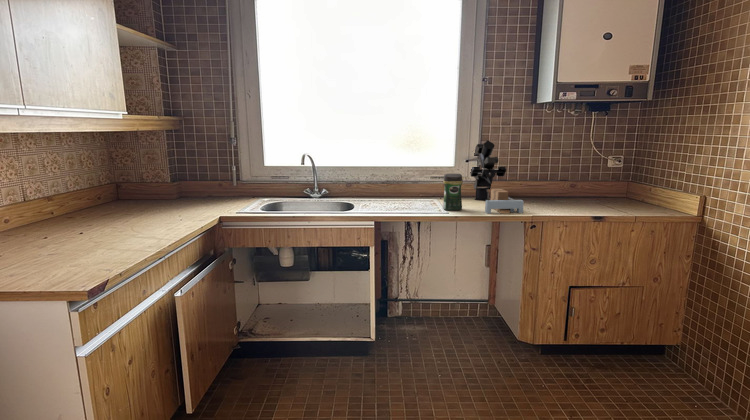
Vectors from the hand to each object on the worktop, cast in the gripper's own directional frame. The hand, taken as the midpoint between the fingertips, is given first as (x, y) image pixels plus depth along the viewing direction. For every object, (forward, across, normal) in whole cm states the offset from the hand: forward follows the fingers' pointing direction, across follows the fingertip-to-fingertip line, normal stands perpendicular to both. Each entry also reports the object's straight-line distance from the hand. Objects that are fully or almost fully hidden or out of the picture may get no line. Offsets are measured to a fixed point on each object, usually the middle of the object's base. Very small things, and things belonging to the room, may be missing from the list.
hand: (491, 183), depth 237 cm
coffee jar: (+17, -24, 0) cm, 29 cm away
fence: (+21, 0, -4) cm, 21 cm away
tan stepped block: (+19, 0, -3) cm, 20 cm away
